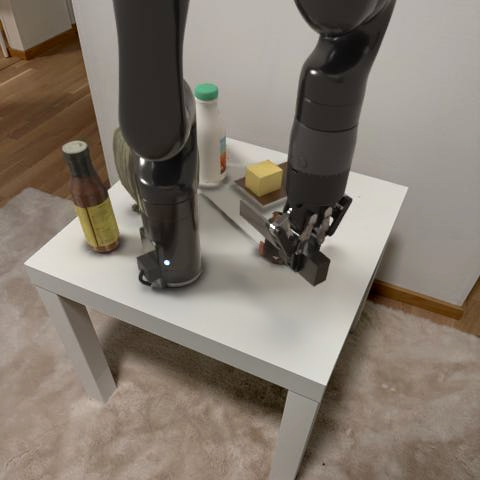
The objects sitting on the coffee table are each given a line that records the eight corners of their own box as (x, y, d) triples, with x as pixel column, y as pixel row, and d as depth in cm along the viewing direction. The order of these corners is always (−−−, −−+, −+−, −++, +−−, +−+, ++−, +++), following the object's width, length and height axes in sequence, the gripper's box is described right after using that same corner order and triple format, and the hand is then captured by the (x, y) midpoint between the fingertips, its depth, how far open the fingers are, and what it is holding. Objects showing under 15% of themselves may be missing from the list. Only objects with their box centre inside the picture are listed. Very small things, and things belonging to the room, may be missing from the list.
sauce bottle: (125, 234, 87) (104, 137, 72) (116, 255, 83) (91, 157, 68) (92, 231, 87) (64, 135, 72) (82, 252, 83) (50, 154, 68)
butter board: (262, 211, 93) (263, 205, 92) (233, 186, 99) (233, 180, 98) (322, 187, 100) (324, 181, 99) (292, 165, 105) (292, 159, 104)
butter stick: (258, 197, 94) (260, 178, 91) (245, 185, 97) (245, 167, 93) (280, 188, 96) (282, 169, 93) (266, 177, 99) (268, 159, 95)
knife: (313, 287, 63) (318, 266, 60) (234, 216, 73) (235, 195, 70) (326, 280, 64) (331, 259, 60) (246, 211, 74) (247, 191, 70)
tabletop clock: (185, 189, 98) (176, 67, 78) (206, 211, 93) (201, 86, 74) (124, 209, 92) (98, 83, 73) (142, 233, 87) (119, 105, 68)
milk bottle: (213, 192, 97) (211, 99, 82) (185, 181, 100) (178, 89, 84) (232, 176, 101) (233, 85, 86) (204, 166, 104) (201, 75, 89)
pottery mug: (246, 246, 87) (260, 205, 83) (283, 253, 92) (298, 215, 89) (278, 271, 78) (295, 226, 75) (317, 277, 83) (335, 236, 80)
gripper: (341, 126, 56) (319, 234, 69) (253, 158, 51) (248, 268, 64) (385, 152, 52) (353, 261, 66) (295, 189, 47) (280, 300, 60)
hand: (301, 264), depth 65 cm, fingers closed on knife, 2 cm apart
